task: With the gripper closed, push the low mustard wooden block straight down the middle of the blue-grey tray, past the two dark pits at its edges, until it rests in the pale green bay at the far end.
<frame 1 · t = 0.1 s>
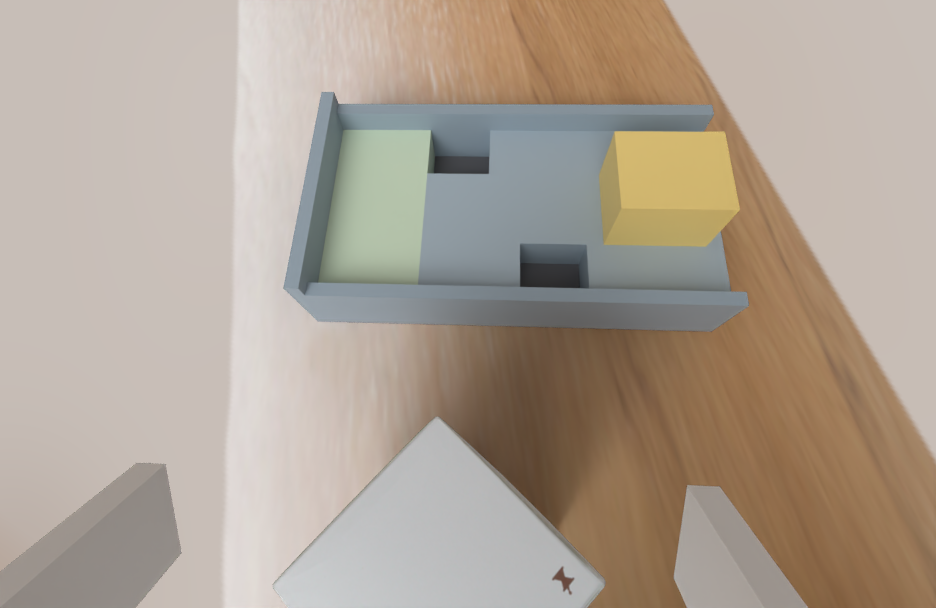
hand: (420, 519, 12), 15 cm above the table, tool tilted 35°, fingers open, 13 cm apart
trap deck: (517, 231, 32), on the table
block: (650, 209, 29), point 3 cm above the table, touching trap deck
supplement box: (461, 538, 26), on the table
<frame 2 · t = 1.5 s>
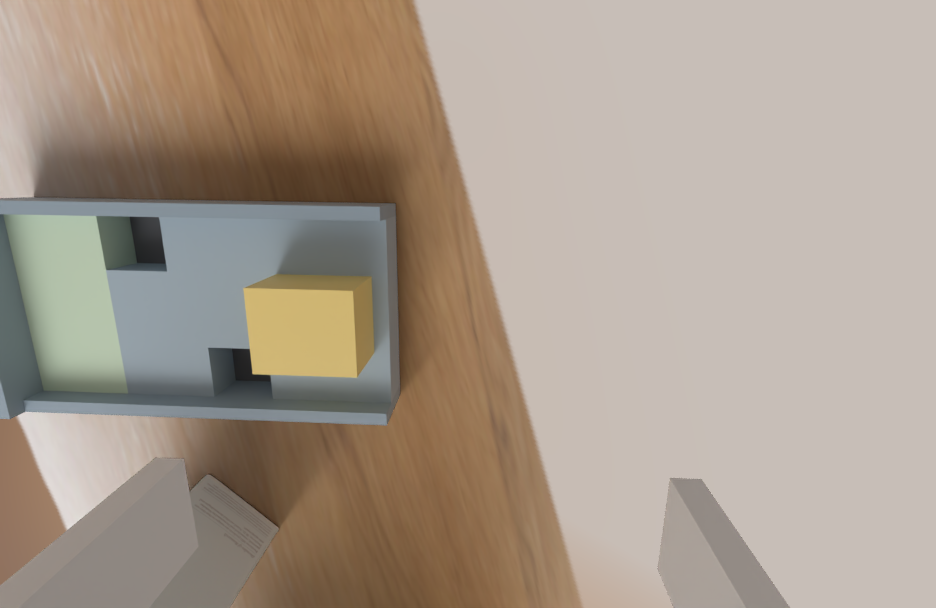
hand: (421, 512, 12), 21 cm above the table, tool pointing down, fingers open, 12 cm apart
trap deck: (228, 299, 33), on the table
block: (326, 314, 30), point 3 cm above the table, touching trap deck
supplement box: (220, 524, 38), on the table
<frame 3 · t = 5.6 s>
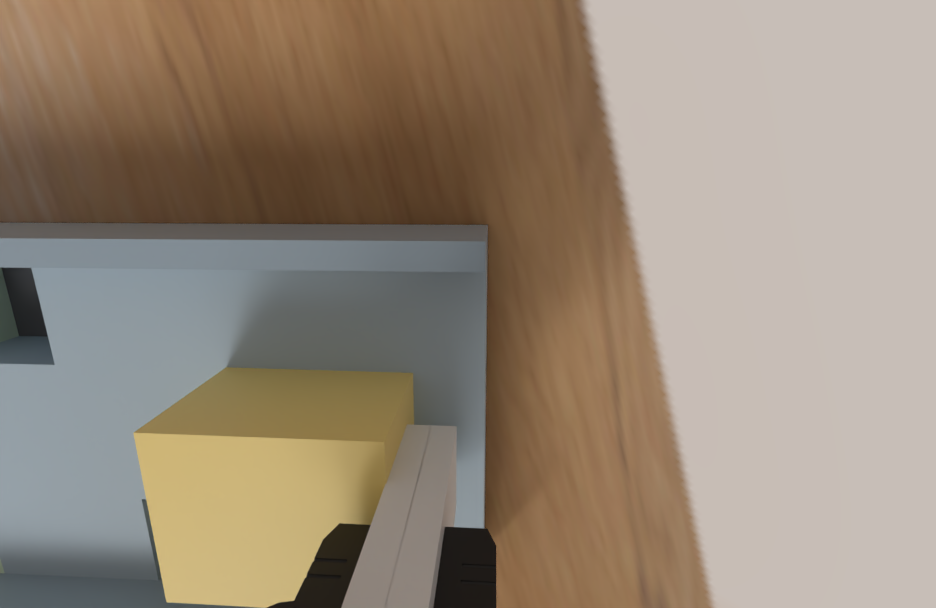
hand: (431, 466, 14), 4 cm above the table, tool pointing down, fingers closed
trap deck: (184, 395, 19), on the table
block: (324, 440, 15), point 3 cm above the table, touching gripper
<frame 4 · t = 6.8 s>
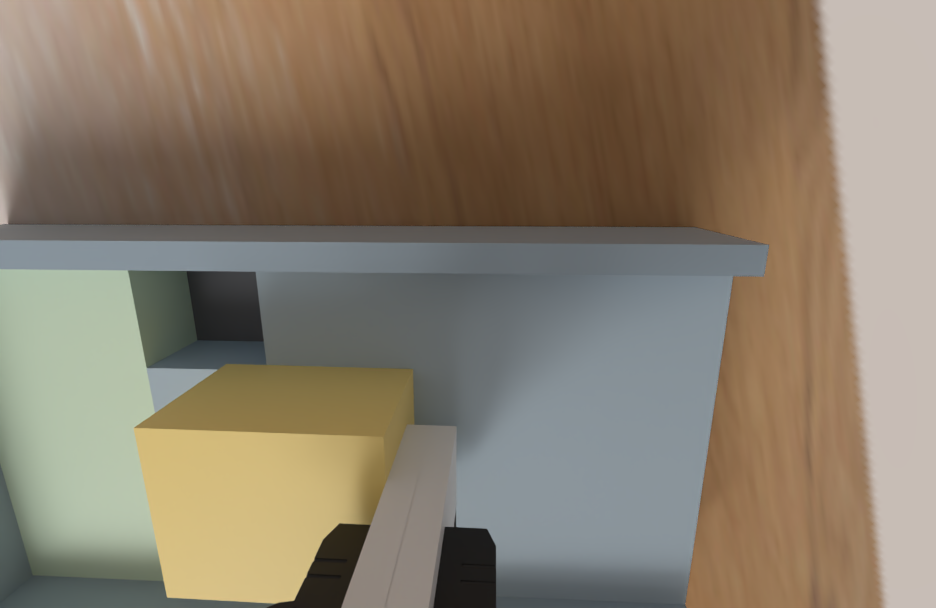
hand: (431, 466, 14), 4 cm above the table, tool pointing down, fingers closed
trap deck: (359, 400, 18), on the table
block: (324, 437, 15), point 3 cm above the table, touching gripper, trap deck
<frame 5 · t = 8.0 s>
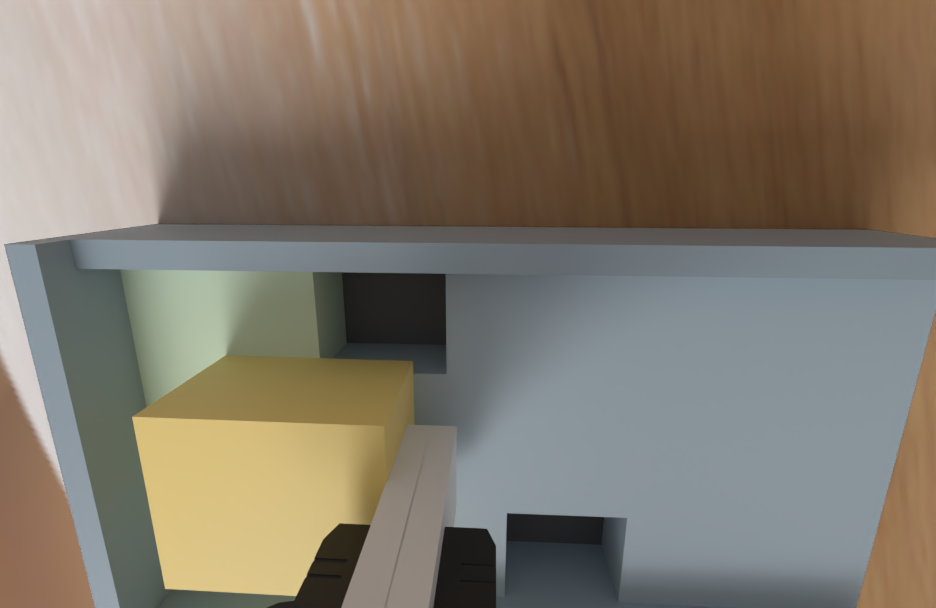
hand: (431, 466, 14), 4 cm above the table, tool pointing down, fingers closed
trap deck: (506, 404, 18), on the table
block: (323, 429, 15), point 3 cm above the table, touching gripper
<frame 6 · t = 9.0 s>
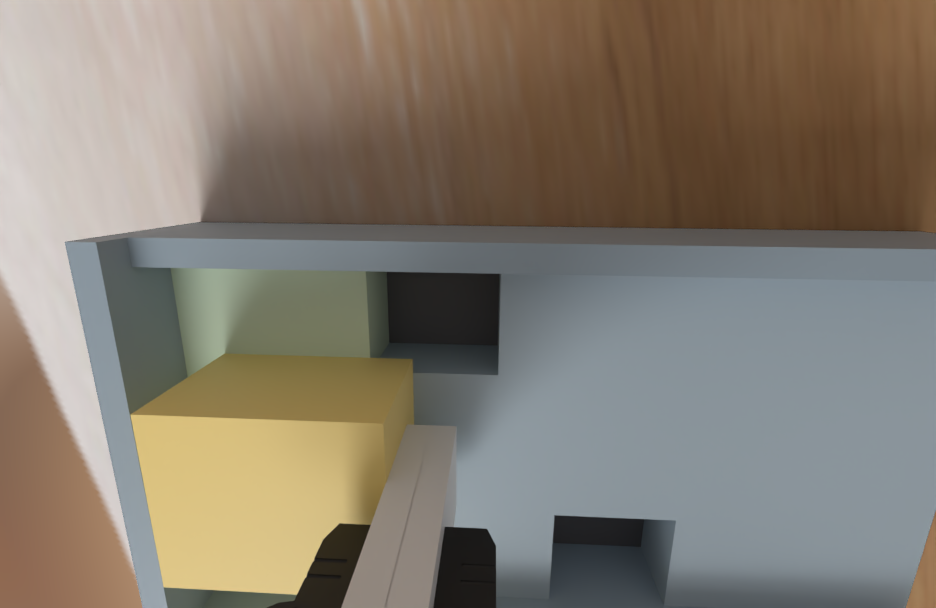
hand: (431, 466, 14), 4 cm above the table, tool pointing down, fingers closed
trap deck: (548, 405, 18), on the table
block: (323, 427, 15), point 3 cm above the table, touching gripper, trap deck
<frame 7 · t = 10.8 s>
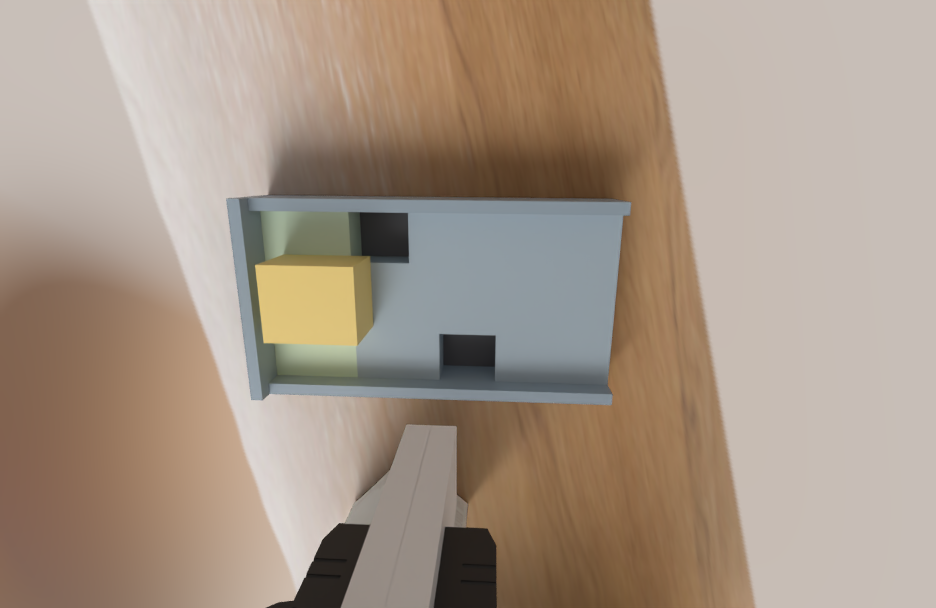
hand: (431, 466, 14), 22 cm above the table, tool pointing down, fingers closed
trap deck: (443, 289, 35), on the table
block: (329, 290, 33), point 3 cm above the table, touching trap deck
supplement box: (410, 501, 41), on the table
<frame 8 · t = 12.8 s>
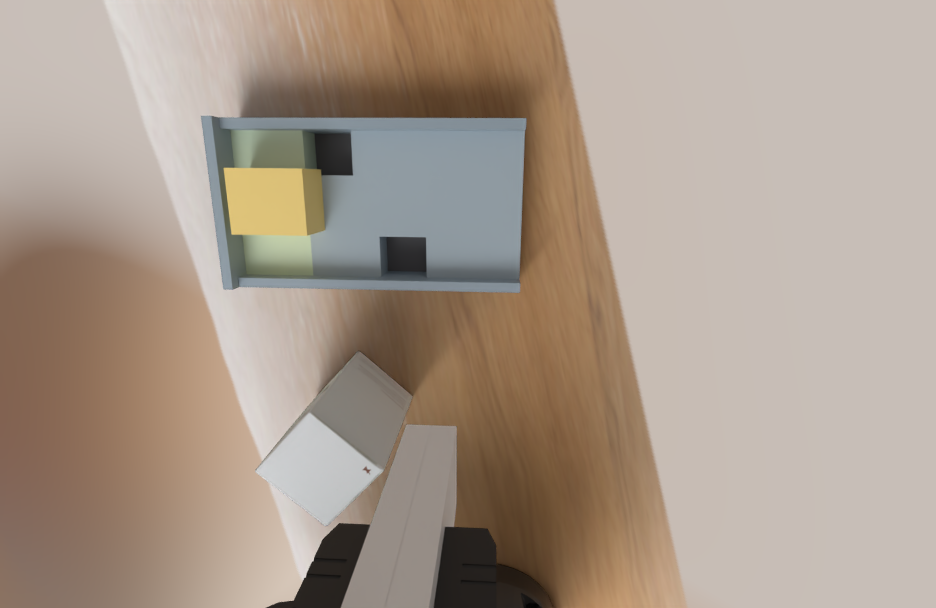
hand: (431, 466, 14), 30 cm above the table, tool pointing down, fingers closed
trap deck: (386, 204, 42), on the table
block: (288, 199, 40), point 3 cm above the table, touching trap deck
supplement box: (364, 395, 48), on the table
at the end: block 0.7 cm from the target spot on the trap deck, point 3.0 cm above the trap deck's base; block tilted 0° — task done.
